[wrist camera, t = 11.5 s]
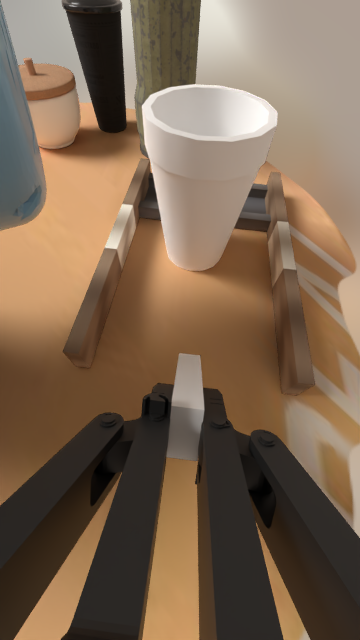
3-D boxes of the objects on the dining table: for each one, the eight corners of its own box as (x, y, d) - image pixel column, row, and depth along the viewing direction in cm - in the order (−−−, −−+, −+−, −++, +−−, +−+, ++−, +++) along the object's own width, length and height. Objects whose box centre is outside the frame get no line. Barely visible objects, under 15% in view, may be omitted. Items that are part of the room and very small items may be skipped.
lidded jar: (46, 121, 44) (18, 43, 36) (100, 132, 42) (84, 53, 34) (6, 148, 38) (-38, 64, 30) (66, 162, 37) (38, 77, 29)
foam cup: (246, 275, 26) (301, 136, 15) (162, 288, 25) (155, 146, 14) (220, 219, 31) (248, 82, 20) (148, 228, 30) (135, 86, 19)
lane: (296, 395, 20) (315, 384, 17) (75, 366, 21) (62, 351, 18) (272, 194, 34) (280, 172, 32) (142, 181, 35) (140, 158, 32)
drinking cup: (90, 137, 41) (34, -98, 24) (90, 117, 45) (42, -98, 28) (136, 135, 42) (113, -93, 25) (132, 116, 46) (110, -93, 29)
